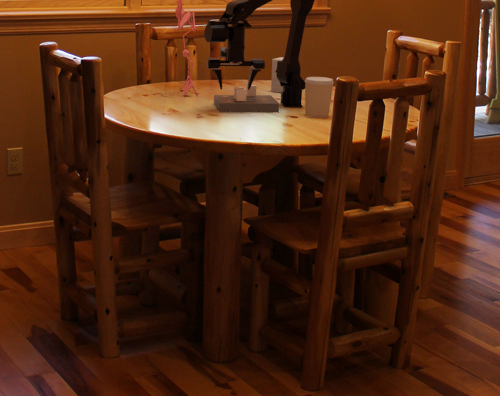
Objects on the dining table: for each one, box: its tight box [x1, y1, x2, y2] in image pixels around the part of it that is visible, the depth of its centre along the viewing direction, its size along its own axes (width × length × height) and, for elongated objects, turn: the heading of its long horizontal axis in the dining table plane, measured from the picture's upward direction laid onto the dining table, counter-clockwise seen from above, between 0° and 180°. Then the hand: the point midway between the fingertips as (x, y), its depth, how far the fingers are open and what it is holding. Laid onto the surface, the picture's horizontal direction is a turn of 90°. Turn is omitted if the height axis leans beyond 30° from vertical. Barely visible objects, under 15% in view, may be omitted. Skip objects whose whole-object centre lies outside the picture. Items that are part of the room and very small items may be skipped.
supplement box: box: [270, 56, 284, 94], centre depth 272 cm, size 7×7×13 cm
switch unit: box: [213, 94, 280, 113], centre depth 240 cm, size 20×15×3 cm
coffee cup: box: [304, 76, 335, 119], centre depth 231 cm, size 9×9×12 cm
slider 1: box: [233, 86, 245, 99], centre depth 238 cm, size 3×2×4 cm
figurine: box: [161, 0, 199, 98], centre depth 256 cm, size 15×26×35 cm, turn 8°
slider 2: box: [236, 88, 246, 101], centre depth 234 cm, size 3×2×4 cm
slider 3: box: [245, 84, 257, 96], centre depth 243 cm, size 3×2×4 cm
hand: (234, 89), depth 235 cm, fingers open, 9 cm apart
